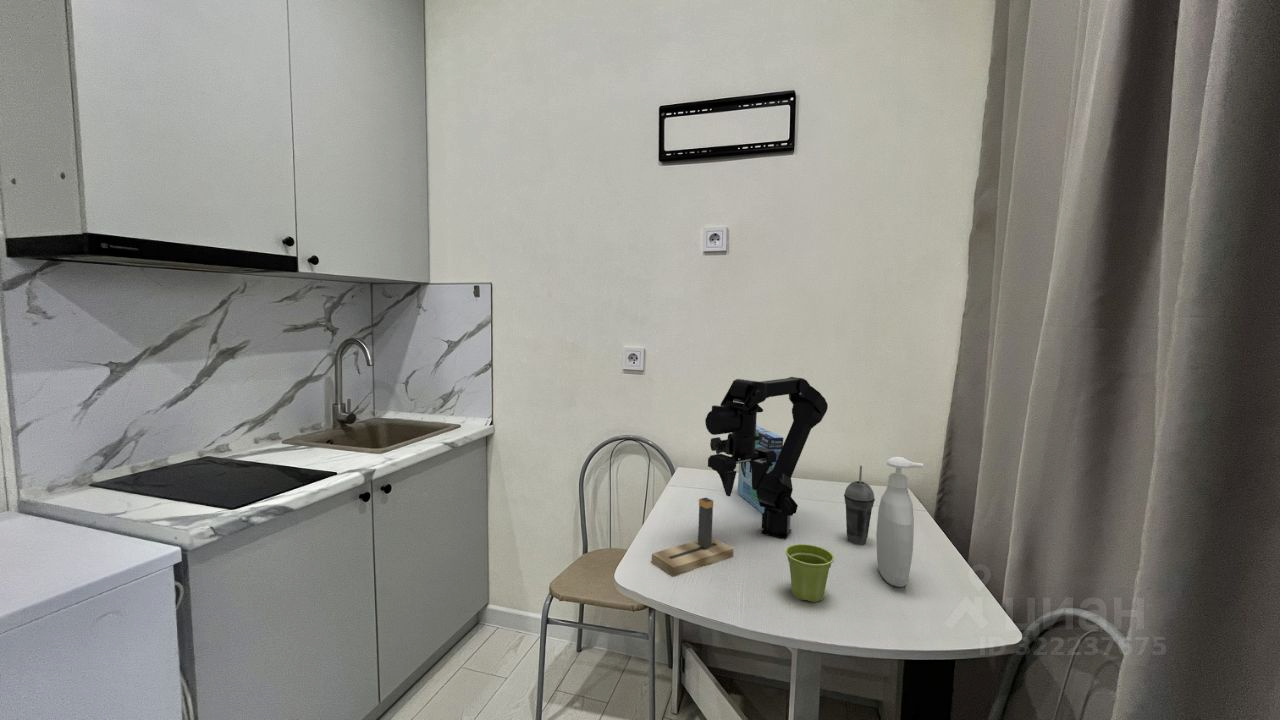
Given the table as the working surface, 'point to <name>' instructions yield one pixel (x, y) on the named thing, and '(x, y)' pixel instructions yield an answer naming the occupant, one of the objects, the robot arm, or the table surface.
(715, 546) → the fader track
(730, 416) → the robot arm
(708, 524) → the fader tab
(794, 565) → the plant pot
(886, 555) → the soap bottle
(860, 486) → the beverage cup
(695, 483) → the table surface
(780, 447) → the gum box
